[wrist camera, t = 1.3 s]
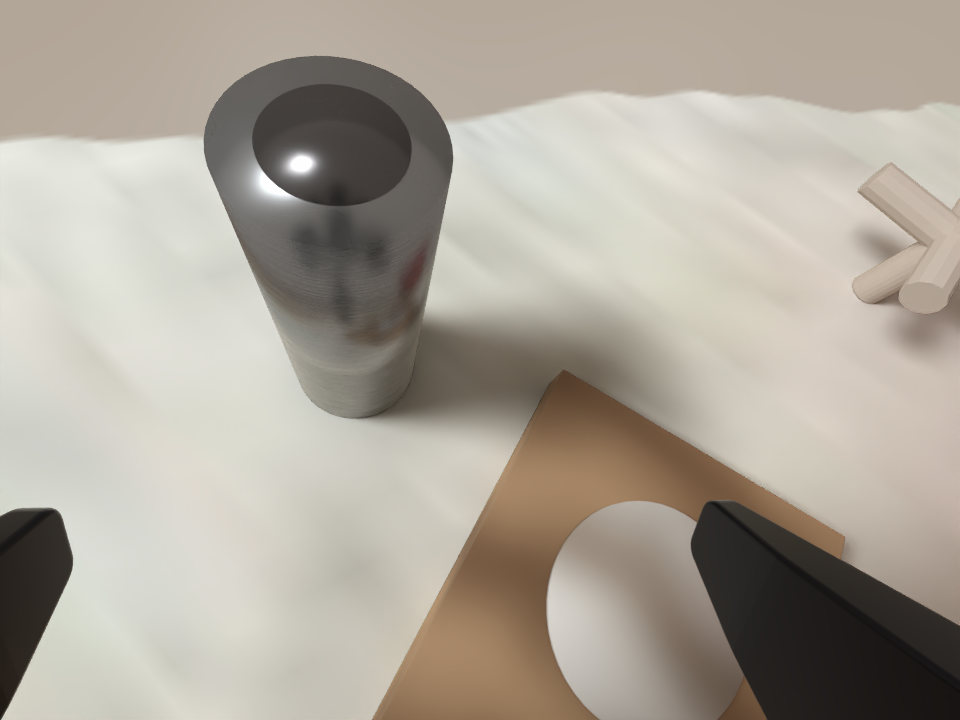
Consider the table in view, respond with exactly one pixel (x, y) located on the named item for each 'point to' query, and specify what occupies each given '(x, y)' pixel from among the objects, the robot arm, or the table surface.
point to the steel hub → (336, 217)
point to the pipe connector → (924, 265)
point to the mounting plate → (588, 581)
